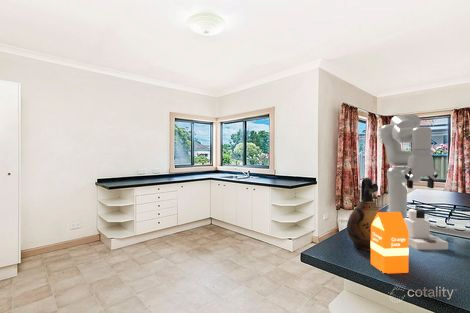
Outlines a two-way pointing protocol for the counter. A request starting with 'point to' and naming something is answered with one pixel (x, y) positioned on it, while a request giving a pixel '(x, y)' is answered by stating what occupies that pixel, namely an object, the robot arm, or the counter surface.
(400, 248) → the orange juice
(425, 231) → the medicine bottle
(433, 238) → the scale pan
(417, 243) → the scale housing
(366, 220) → the ceramic jug
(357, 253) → the counter surface
